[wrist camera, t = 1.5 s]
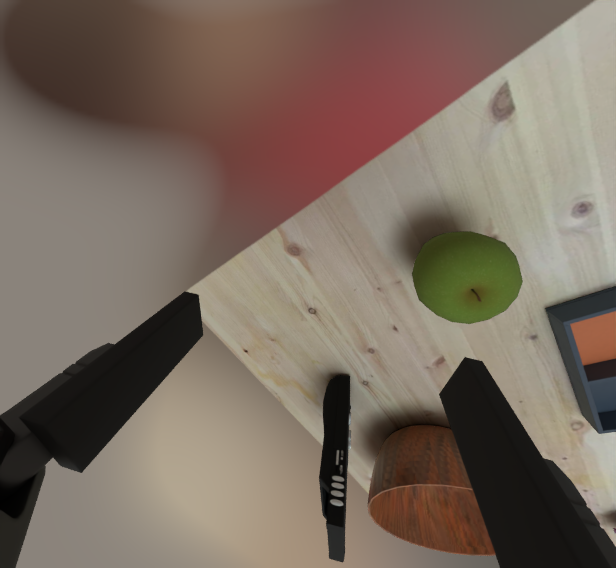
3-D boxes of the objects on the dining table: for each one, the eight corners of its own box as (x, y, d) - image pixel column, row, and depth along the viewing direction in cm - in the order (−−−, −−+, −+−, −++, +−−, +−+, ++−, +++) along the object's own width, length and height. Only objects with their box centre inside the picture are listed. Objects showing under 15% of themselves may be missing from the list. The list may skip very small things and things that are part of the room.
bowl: (434, 489, 54) (451, 563, 44) (343, 444, 52) (340, 510, 42) (533, 450, 42) (588, 540, 32) (418, 389, 40) (438, 464, 30)
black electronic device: (351, 414, 47) (347, 564, 29) (329, 411, 48) (312, 554, 30) (352, 373, 41) (348, 528, 24) (327, 371, 42) (306, 518, 25)
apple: (482, 269, 28) (551, 328, 18) (412, 290, 31) (438, 350, 21) (469, 203, 25) (543, 231, 15) (392, 233, 28) (412, 272, 18)
